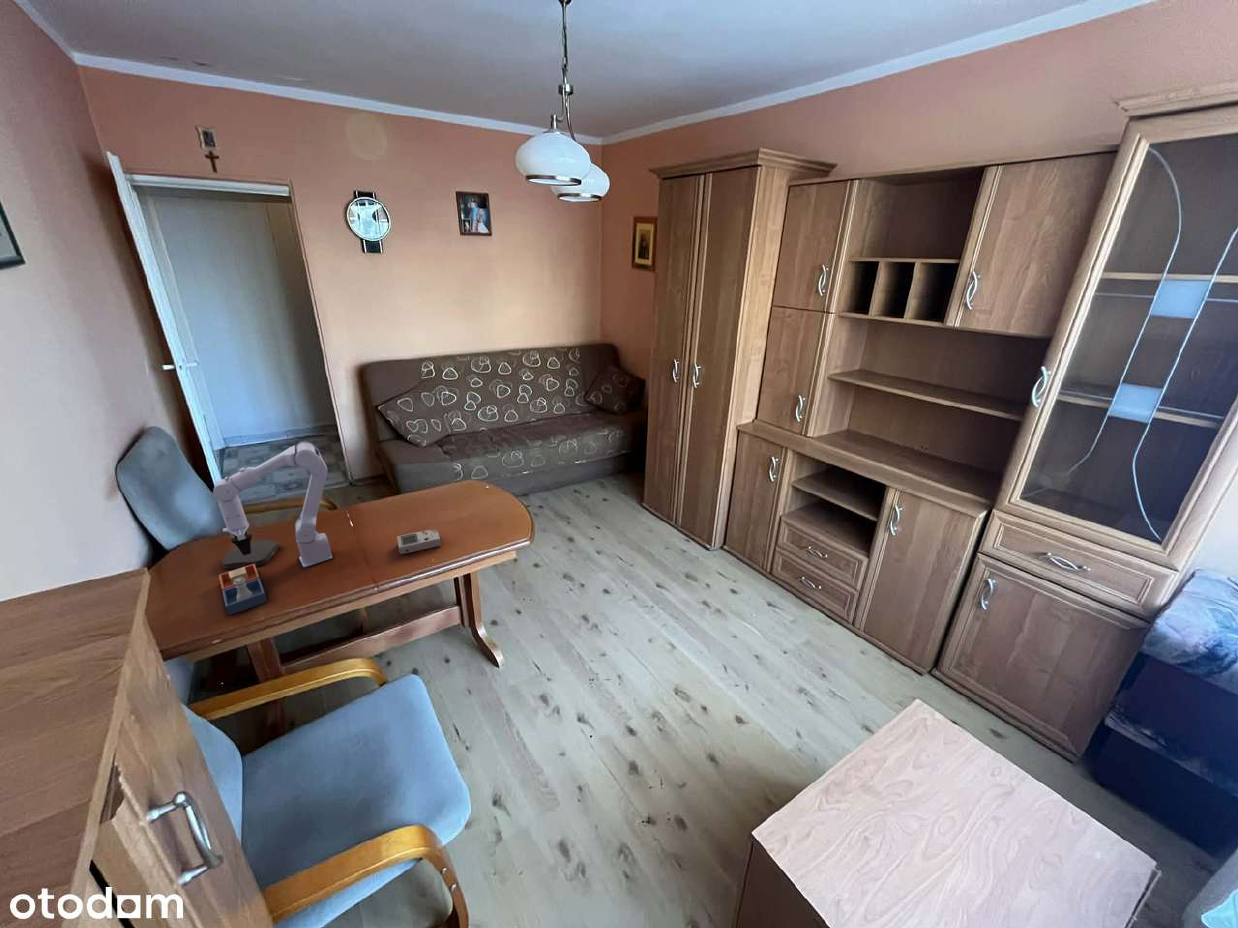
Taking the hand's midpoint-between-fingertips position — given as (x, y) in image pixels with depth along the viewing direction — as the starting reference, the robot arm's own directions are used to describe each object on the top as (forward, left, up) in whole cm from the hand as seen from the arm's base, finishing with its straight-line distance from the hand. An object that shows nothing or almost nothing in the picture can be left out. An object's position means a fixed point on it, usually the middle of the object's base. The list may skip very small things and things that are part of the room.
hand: (245, 549), depth 172 cm
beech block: (+4, +4, -10) cm, 11 cm away
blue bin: (+4, +15, -10) cm, 19 cm away
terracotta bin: (+4, +4, -10) cm, 12 cm away
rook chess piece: (+4, +15, -10) cm, 19 cm away
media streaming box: (-1, -13, -11) cm, 17 cm away
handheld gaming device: (-51, +19, -11) cm, 55 cm away
